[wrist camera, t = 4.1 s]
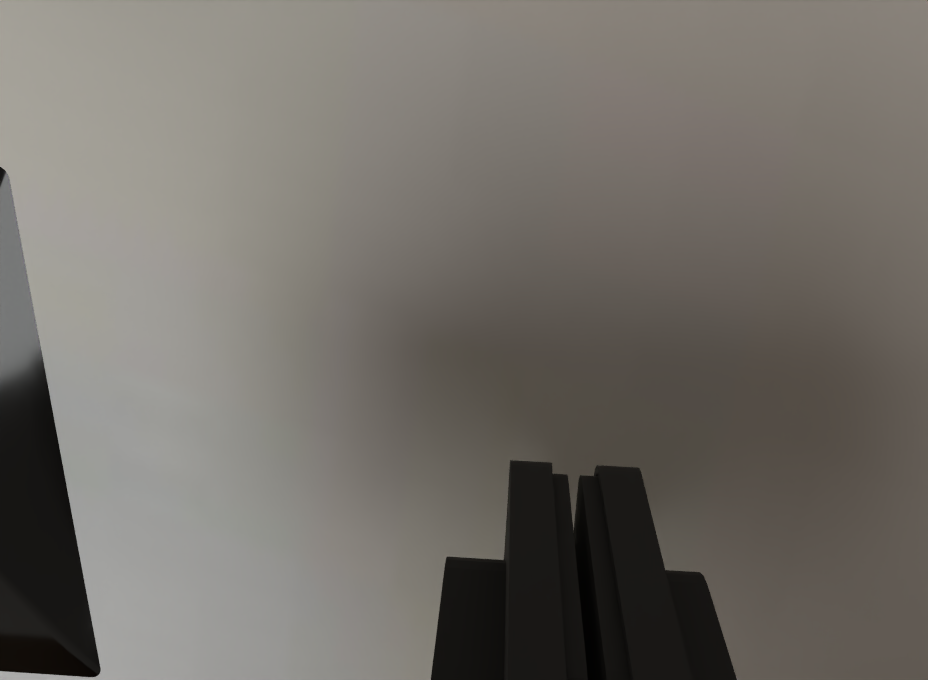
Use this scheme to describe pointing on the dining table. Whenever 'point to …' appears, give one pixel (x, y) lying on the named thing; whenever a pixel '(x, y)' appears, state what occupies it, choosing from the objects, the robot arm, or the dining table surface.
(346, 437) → the dining table surface
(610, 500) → the robot arm
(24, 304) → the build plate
